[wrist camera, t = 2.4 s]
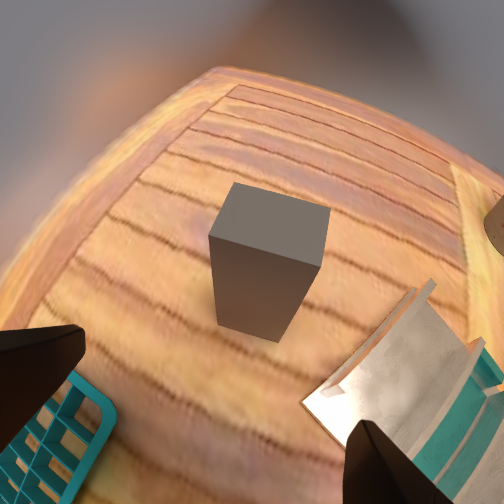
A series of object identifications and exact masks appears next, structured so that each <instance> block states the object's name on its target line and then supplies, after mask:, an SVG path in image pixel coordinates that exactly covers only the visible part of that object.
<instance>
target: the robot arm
mask: <svg viewBox="0 0 504 504" xmlns="http://www.w3.org/2000/svg"><path fill="white" fill-rule="evenodd" d="M85 351H86V343H85V331H84V329H83V328H81V327H79V326H77V325H75V324H71V325H62V326H52V327H42V328H31V329H19V330H7V331H0V454H1V453H2V452H3V451H4V449H5V448H6V447H7V446H8V445H9V444H10V442H11V441H12V440H13V439H14V438H15V437H16V435H17V434H18V433H19V432H20V431H21V430H22V428H23V427H24V426H25V425H26V424H27V423H28V422H29V421H30V419H31V418H32V417H33V416H34V415H35V414H36V413H37V412H38V411H39V409H40V408H41V407H42V406H43V405H44V404H45V403H46V402H47V401H48V400H49V398H50V397H51V396H52V395H53V394H54V393H55V392H56V391H57V390H58V389H59V388H60V386H61V385H62V384H63V383H64V381H65V380H66V379H67V377H68V376H69V375H70V373H71V372H72V371H73V369H74V368H75V367H76V365H77V364H78V363H79V361H80V360H81V359H82V357H83V356H84V354H85ZM343 504H454V503H453V502H452V501H451V500H450V499H449V498H448V497H447V496H446V495H445V494H444V493H443V492H442V491H441V490H440V489H439V488H437V487H436V485H435V484H434V483H433V482H432V481H431V480H430V479H429V478H428V477H427V476H426V475H425V474H424V473H423V472H422V471H421V470H420V469H419V468H418V467H417V466H416V465H415V464H414V463H413V462H412V461H411V460H410V459H409V458H408V457H407V456H406V455H405V454H404V453H403V452H402V451H401V450H400V449H399V448H398V447H397V446H396V444H395V443H394V442H393V441H392V440H391V439H390V438H389V437H388V436H387V435H386V434H385V433H384V432H383V431H382V430H381V429H380V428H379V427H378V426H377V424H376V423H375V422H374V421H372V420H364V419H362V420H359V421H358V423H357V424H356V426H355V427H354V429H353V430H352V432H351V433H350V435H349V436H348V438H347V442H346V452H345V463H344V473H343Z"/></svg>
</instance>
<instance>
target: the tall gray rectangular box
mask: <svg viewBox="0 0 504 504" xmlns="http://www.w3.org/2000/svg"><path fill="white" fill-rule="evenodd" d="M330 210H331V208H328V207H325V206H321V205H318V204H315V203H311V202H308V201H304V200H301V199H297V198H293V197H290V196H286V195H282V194H279V193H275V192H271V191H267V190H264V189H260V188H256V187H252V186H248V185H244V184H240V183H236V182H234V183H233V185H232V187H231V189H230V191H229V193H228V195H227V197H226V199H225V201H224V204H223V206H222V208H221V210H220V212H219V214H218V216H217V218H216V220H215V222H214V224H213V226H212V228H211V230H210V232H209V235H208V236H209V247H210V258H211V268H212V277H213V287H214V296H215V305H216V313H217V322H218V325H221V326H224V327H227V328H230V329H233V330H237V331H240V332H243V333H246V334H250V335H253V336H256V337H260V338H263V339H267V340H270V341H274V342H277V343H279V341H280V339H281V337H282V336H283V334H284V332H285V331H286V329H287V327H288V326H289V324H290V322H291V320H292V319H293V317H294V315H295V313H296V312H297V310H298V308H299V306H300V304H301V303H302V301H303V299H304V297H305V295H306V294H307V292H308V290H309V288H310V286H311V285H312V283H313V281H314V279H315V277H316V275H317V273H318V271H319V270H320V268H321V264H322V258H323V253H324V247H325V241H326V235H327V229H328V223H329V217H330Z"/></svg>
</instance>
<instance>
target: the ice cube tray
mask: <svg viewBox="0 0 504 504" xmlns="http://www.w3.org/2000/svg"><path fill="white" fill-rule="evenodd" d="M67 380H69V381H70V382H71V383H72V386H71V388H70V389H69V391H68V393H67V395H66V396H65V398H64V400H63V402H62V404H61V405H59V404H58V403H57V402H56V401H55V400H54V399H53V398H52V397H50V398H49V400H48V401H47V402H46V403H45V404H44V406H45V407H46V408H47V409H48V410H49V411H50V412H51V413H52V414H53V415H54V418H53V420H52V422H51V424H50V426H49V428H48V430H47V431H46V430H45V429H44V428H43V427H42V426H41V425H40V424H39V423H38V421H37V420H36V417H37V415H38V414H39V412H40V410H41V408H42V407H41V408H40V409H39V411H38V412H37V413H36V414H35V415H34V416H33V417H32V418H31V419H30V421H29V422H28V423H27V424H26V425H25V426H24V427H23V428H22V430H21V431H20V432H19V433H18V434H17V435H16V437H15V438H14V439H13V440H12V441H11V442H10V444H9V445H8V446H7V447H6V448H5V449H4V451H3V452H2V453H1V454H0V504H7V503H8V504H30V503H31V502H32V503H33V504H56V503H55V502H54V501H53V500H52V499H51V498H50V497H48V496H47V495H46V494H45V493H44V492H43V491H42V490H41V489H40V488H39V487H38V485H39V483H40V481H42V482H43V483H44V484H46V485H47V486H48V487H49V488H50V489H51V490H52V491H53V492H54V493H55V494H57V495H58V496H59V497H60V498H61V499H60V501H59V503H58V504H72V502H73V500H74V498H75V496H76V494H77V493H78V491H79V489H80V487H81V485H82V483H83V482H84V480H85V478H86V476H87V474H88V472H89V471H90V469H91V467H92V465H93V463H94V462H95V460H96V458H97V456H98V455H99V453H100V451H101V449H102V447H103V446H104V444H105V442H106V440H107V439H108V437H109V435H110V433H111V432H112V430H113V428H114V427H115V425H116V423H117V411H116V409H115V407H114V405H113V403H112V401H111V400H110V399H109V398H107V397H106V396H105V395H103V394H102V393H101V392H100V391H98V390H97V389H96V388H94V387H93V386H92V385H91V384H90V383H88V382H87V381H86V380H85V379H83V378H82V377H81V376H80V375H79V374H78V373H76V372H75V371H74V370H73V371H72V372H71V373H70V375H69V376H68V377H67ZM85 396H87V397H88V398H90V399H91V400H92V401H93V402H95V403H96V404H97V405H98V406H100V409H101V412H102V415H103V416H102V422H101V425H100V427H99V429H98V430H97V432H96V434H95V435H93V434H92V433H91V432H90V431H88V430H87V429H86V428H85V427H84V426H82V425H81V424H80V423H79V422H78V421H77V420H75V419H74V418H73V417H74V415H75V413H76V412H77V410H78V408H79V406H80V405H81V403H82V401H83V399H84V398H85ZM67 428H68V429H69V430H70V431H71V432H72V433H74V434H75V435H76V436H77V437H78V438H79V439H81V440H82V441H83V442H84V443H85V444H87V445H88V448H87V450H86V452H85V454H84V455H83V457H82V459H81V461H79V460H78V459H77V458H76V457H75V456H74V455H72V454H71V453H70V452H69V451H68V450H67V449H66V448H64V447H63V446H62V445H61V444H60V441H61V439H62V437H63V435H64V433H65V431H66V430H67ZM29 432H30V433H31V434H32V435H33V436H34V437H35V438H36V439H37V441H38V442H39V443H40V445H39V447H38V449H37V452H36V454H35V453H34V452H33V451H32V450H31V449H30V448H29V447H28V446H27V444H26V443H25V440H26V438H27V435H28V433H29ZM52 456H54V457H55V458H56V459H57V460H58V461H59V462H60V463H61V464H63V465H64V466H65V467H66V468H67V469H68V470H69V471H71V472H72V473H73V476H72V478H71V479H70V481H69V483H68V484H67V483H66V482H65V481H64V480H62V479H61V478H60V477H59V476H58V475H57V474H56V473H55V472H54V471H52V470H51V469H50V468H49V467H48V464H49V462H50V460H51V458H52ZM17 457H19V458H20V459H21V460H22V461H23V462H24V463H25V464H26V466H27V467H28V468H29V469H28V471H27V473H26V474H25V473H24V472H23V471H22V470H21V469H20V468H19V467H18V465H17V464H16V463H15V462H16V459H17ZM8 479H10V480H11V481H12V482H13V483H14V484H15V485H16V486H17V487H18V488H19V492H17V491H16V490H15V489H14V488H13V487H12V486H11V485H10V483H9V482H8ZM1 497H2V498H3V499H4V500H5V501H6V502H7V503H6V502H5V501H4V500H3V499H2V498H1Z"/></svg>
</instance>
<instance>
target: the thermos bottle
mask: <svg viewBox="0 0 504 504" xmlns="http://www.w3.org/2000/svg"><path fill="white" fill-rule="evenodd" d="M484 226H485V230H486V233H487V235H488V237H489V239H490V241H491V242H492V244H493V245H494V247H495V248H496V249H497V250H498V251H499V252H500V253H501V254H502V255H503V256H504V195H503V196H502V198H501V199H500V200H499V201H498V203H497V204H496V205H495V206H494V208H493V209H492V210H491V211H490V212H489V214H488V215H487V216H486V217H485V220H484Z"/></svg>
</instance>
